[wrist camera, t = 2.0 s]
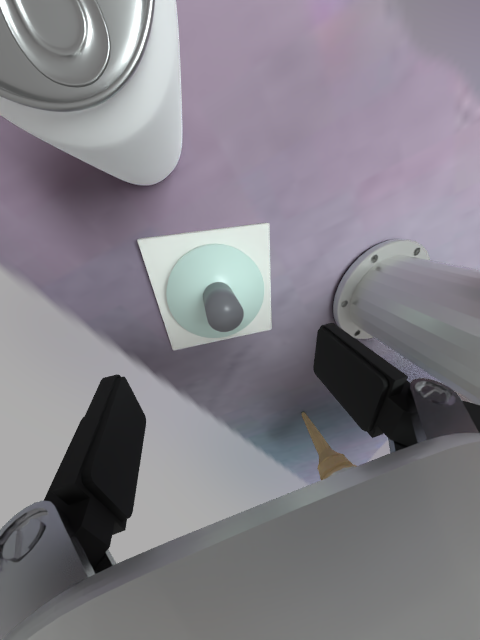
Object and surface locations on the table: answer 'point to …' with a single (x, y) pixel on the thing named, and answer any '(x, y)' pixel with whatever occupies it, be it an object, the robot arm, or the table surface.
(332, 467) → the ice cream cone
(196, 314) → the lid
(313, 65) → the table surface
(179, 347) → the mat
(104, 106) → the can
